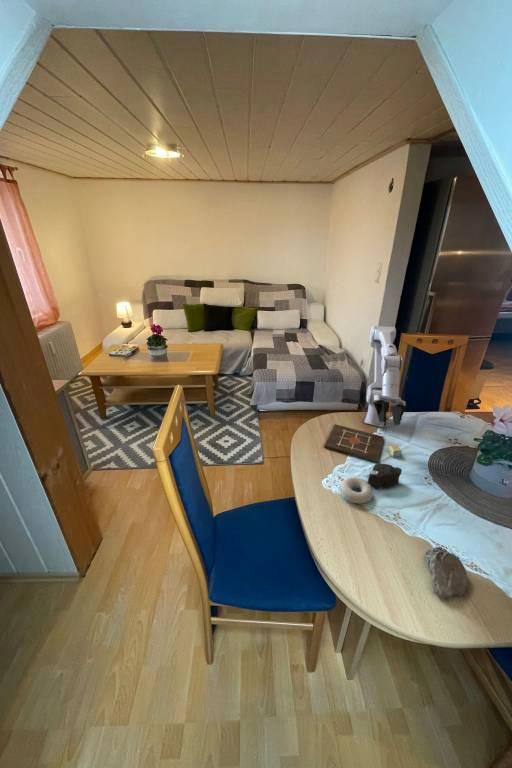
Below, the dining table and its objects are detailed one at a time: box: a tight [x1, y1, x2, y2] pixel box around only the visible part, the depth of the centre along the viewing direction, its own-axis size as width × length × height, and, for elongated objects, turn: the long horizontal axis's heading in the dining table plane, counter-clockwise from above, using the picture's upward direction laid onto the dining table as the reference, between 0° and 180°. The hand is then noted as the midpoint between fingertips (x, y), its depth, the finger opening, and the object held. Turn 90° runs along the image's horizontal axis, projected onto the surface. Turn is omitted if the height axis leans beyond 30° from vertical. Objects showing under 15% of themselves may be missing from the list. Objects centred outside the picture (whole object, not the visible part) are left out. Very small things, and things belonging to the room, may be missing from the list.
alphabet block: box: [388, 444, 402, 458], centre depth 114 cm, size 3×3×3 cm
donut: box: [340, 476, 373, 505], centre depth 98 cm, size 10×4×10 cm
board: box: [324, 423, 384, 464], centre depth 121 cm, size 16×20×1 cm
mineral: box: [367, 463, 403, 490], centre depth 101 cm, size 10×9×6 cm
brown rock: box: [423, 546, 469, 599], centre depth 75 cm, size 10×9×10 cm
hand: (389, 423), depth 109 cm, fingers open, 7 cm apart
